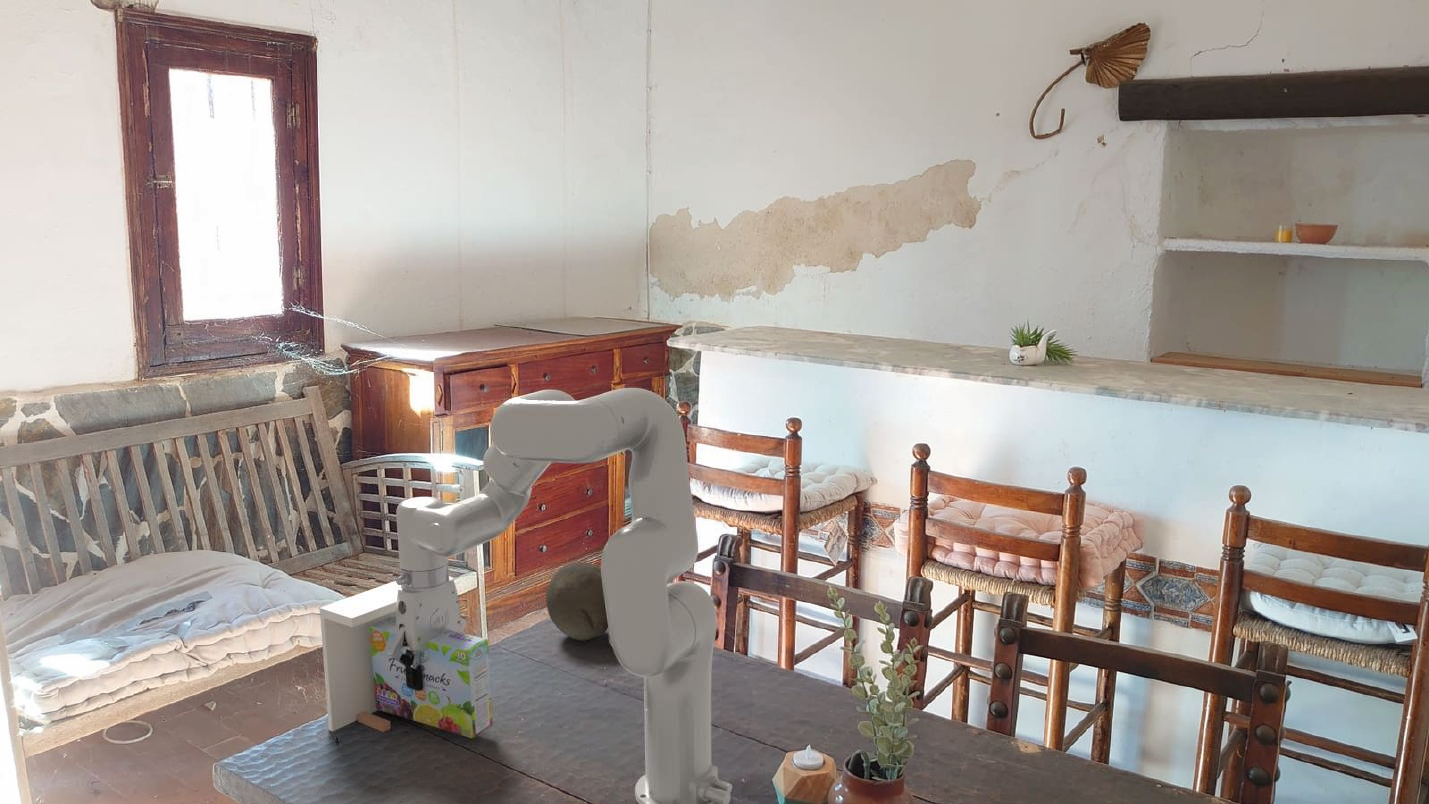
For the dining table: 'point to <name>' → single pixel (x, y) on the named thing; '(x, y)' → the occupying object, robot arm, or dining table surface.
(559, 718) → the dining table surface
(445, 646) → the snack box
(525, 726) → the dining table surface
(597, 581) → the cantaloupe
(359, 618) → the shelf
